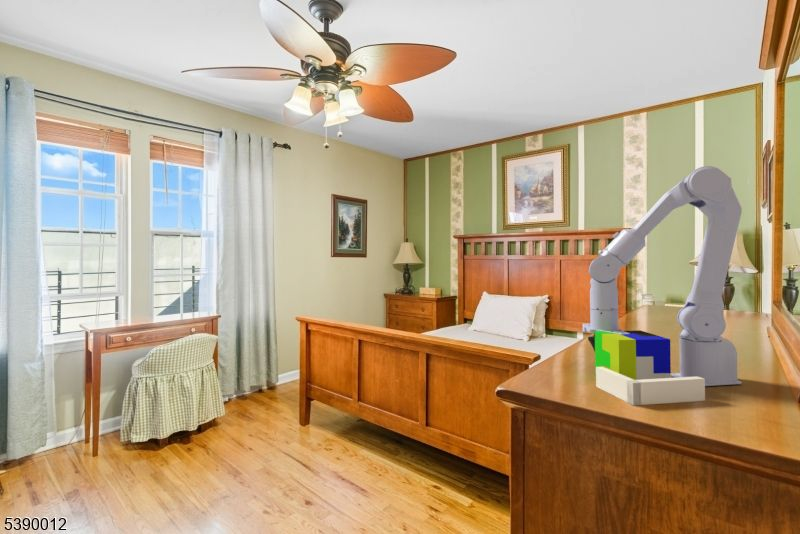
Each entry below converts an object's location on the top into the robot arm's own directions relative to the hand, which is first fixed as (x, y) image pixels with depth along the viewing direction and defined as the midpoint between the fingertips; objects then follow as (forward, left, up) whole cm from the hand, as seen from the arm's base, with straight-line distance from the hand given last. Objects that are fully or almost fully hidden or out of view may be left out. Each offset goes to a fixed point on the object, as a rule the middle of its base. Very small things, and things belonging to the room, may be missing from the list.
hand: (604, 368), depth 90 cm
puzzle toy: (0, +8, -1) cm, 8 cm away
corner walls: (+1, +14, -1) cm, 15 cm away
